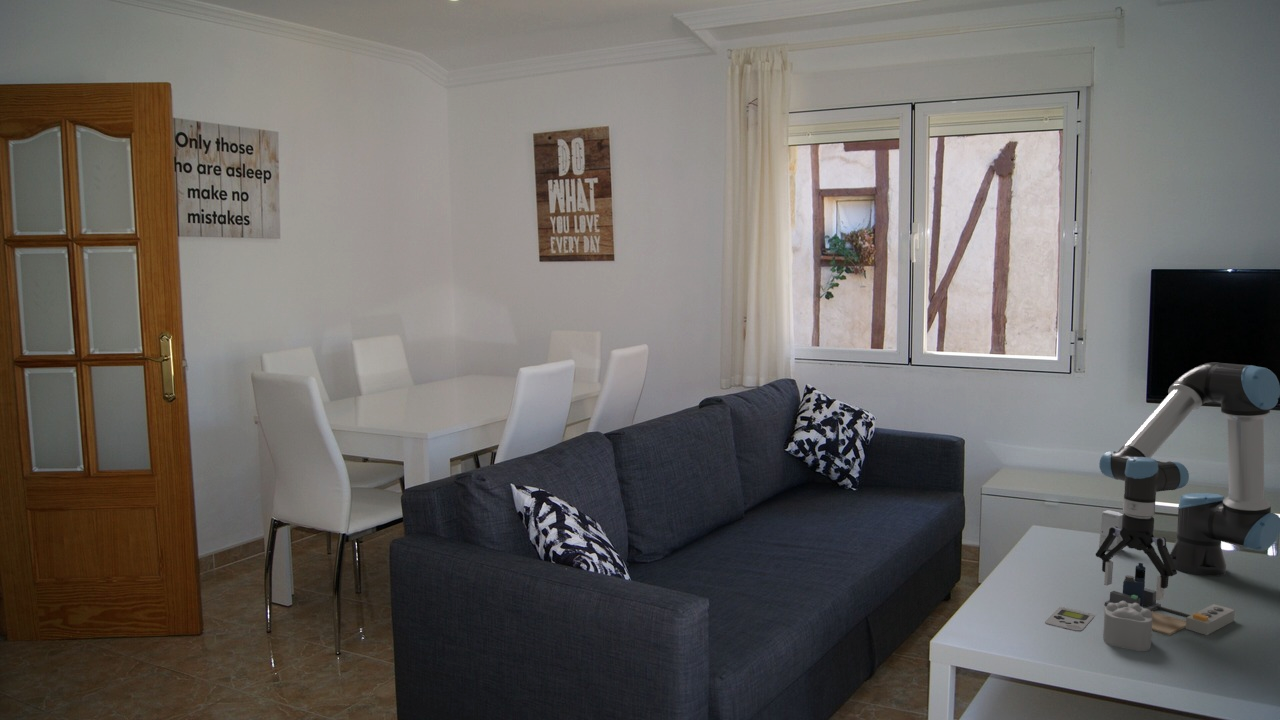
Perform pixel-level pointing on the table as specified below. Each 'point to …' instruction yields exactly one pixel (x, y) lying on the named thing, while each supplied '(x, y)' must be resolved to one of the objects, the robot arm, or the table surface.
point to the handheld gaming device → (1070, 619)
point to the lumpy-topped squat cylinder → (1128, 626)
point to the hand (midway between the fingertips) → (1133, 591)
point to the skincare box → (1110, 521)
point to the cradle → (1148, 600)
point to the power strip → (1210, 619)
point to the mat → (1166, 624)
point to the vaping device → (1135, 583)
